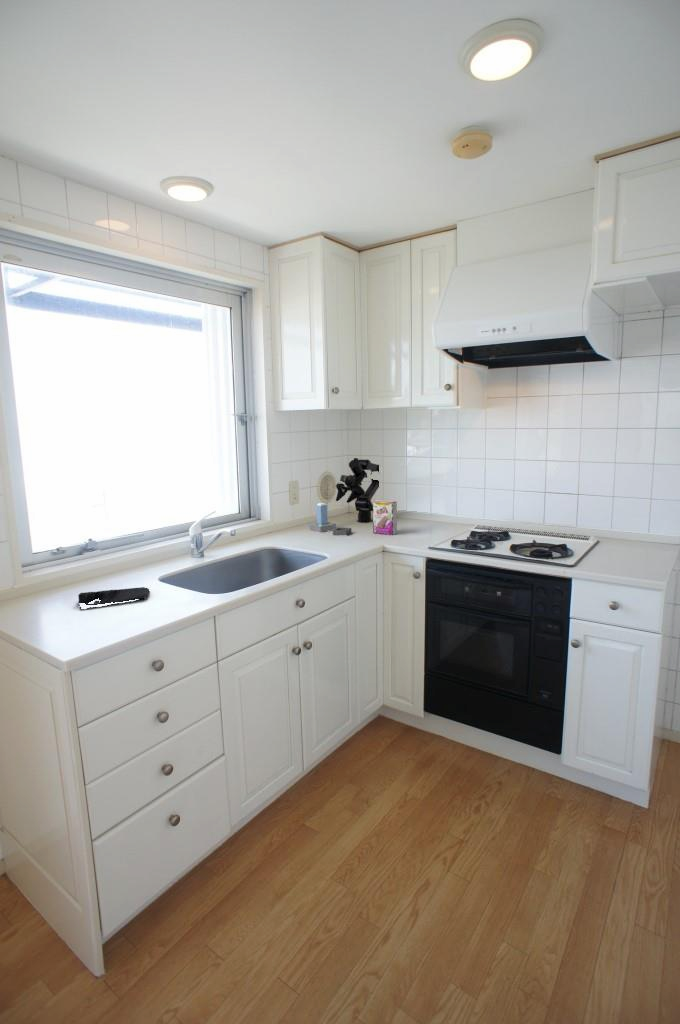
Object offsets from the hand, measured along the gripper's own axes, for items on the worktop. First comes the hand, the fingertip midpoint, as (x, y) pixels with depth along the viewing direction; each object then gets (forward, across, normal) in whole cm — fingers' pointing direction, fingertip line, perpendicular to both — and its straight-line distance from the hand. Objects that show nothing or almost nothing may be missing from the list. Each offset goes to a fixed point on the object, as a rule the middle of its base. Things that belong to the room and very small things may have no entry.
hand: (341, 501), depth 283 cm
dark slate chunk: (+100, +38, -80) cm, 133 cm away
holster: (+18, +14, +2) cm, 22 cm away
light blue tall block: (+18, -2, +2) cm, 18 cm away
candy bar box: (+7, +28, +13) cm, 32 cm away
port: (+18, -2, +2) cm, 18 cm away
